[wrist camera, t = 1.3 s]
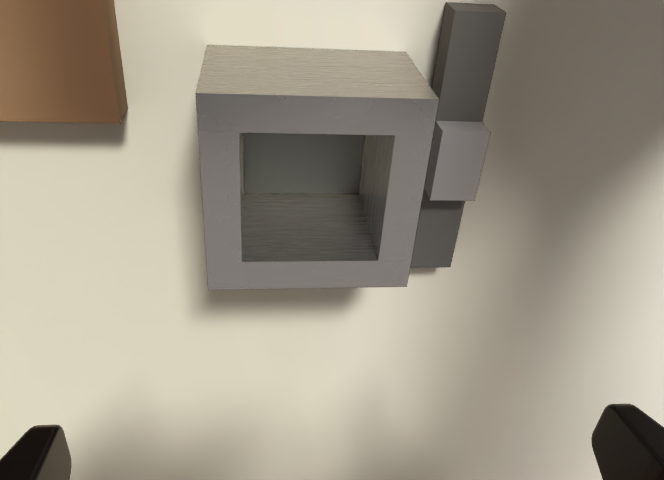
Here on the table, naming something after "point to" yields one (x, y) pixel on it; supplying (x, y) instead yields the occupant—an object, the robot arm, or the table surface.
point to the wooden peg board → (60, 62)
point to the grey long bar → (457, 127)
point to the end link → (313, 209)
